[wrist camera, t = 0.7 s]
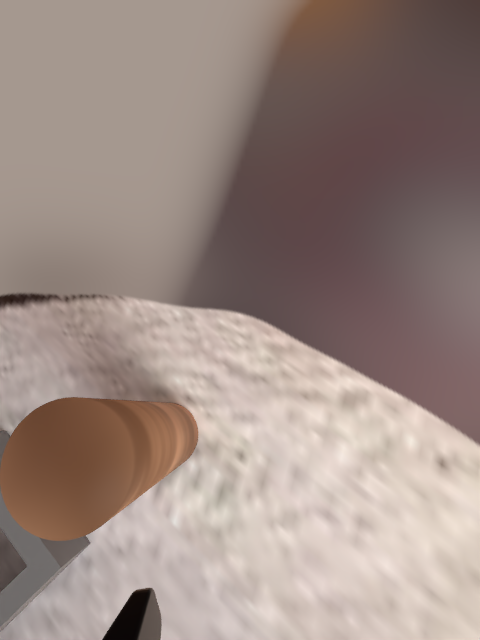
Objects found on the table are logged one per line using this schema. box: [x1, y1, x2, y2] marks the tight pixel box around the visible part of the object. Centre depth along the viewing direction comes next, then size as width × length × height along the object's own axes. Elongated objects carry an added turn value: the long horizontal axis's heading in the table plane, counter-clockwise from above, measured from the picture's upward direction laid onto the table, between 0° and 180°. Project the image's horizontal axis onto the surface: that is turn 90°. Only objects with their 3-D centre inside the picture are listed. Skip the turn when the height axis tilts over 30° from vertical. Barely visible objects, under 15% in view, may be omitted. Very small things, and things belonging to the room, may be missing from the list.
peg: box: [0, 397, 198, 541], centre depth 17 cm, size 4×4×13 cm
